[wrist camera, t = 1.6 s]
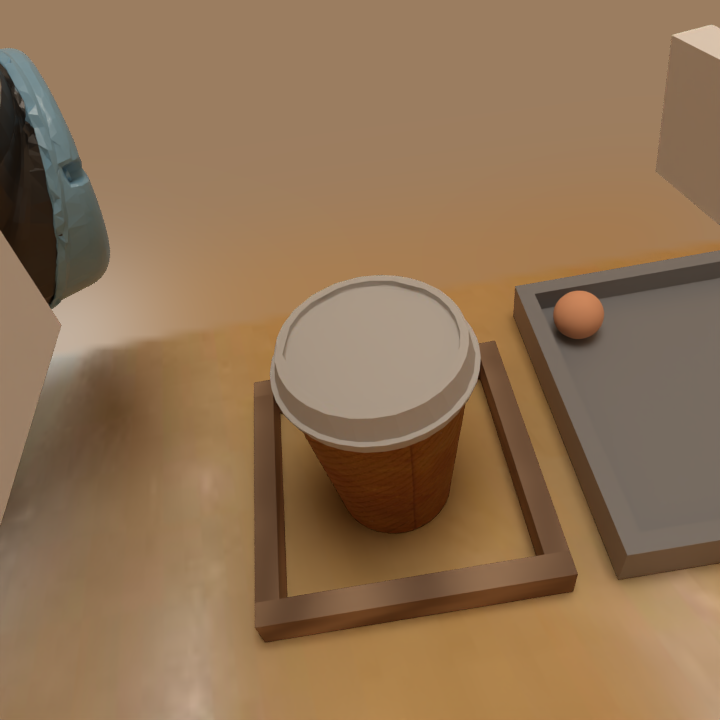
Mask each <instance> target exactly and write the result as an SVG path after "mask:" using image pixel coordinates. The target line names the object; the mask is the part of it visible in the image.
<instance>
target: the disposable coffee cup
mask: <svg viewBox="0 0 720 720" xmlns="http://www.w3.org/2000/svg"><path fill="white" fill-rule="evenodd" d="M480 361H481V356H480V348H479V344H478V340H477V338H476V336H475V333H474V331H473V329H472V327H471V326H470V325H469V324H468V322H467V321H466V320H465V318H464V316H463V314H462V312H461V310H460V309H459V308H458V306H457V305H456V304H455V303H454V302H453V301H452V299H450V298H449V297H448V296H447V295H445V294H444V293H443V292H442V291H440V290H438V289H436V288H434V287H432V286H430V285H428V284H426V283H424V282H421V281H417V280H414V279H411V278H406V277H400V276H388V275H376V276H365V277H357V278H354V279H350V280H346V281H343V282H339V283H336V284H333V285H331V286H329V287H328V288H325V289H323V290H321V291H319V292H318V293H315V294H313V295H312V296H311V297H309V298H308V299H307V300H306V301H305V302H303V303H302V304H301V305H300V306H298V307H297V308H296V309H295V310H294V311H293V312H292V313H291V315H290V316H289V317H288V319H287V320H286V321H285V323H284V324H283V326H282V328H281V330H280V332H279V335H278V337H277V341H276V346H275V353H274V356H273V358H272V363H271V370H270V380H271V388H272V392H273V394H274V397H275V400H276V402H277V404H278V406H279V407H280V409H281V411H282V412H283V414H284V416H285V417H286V418H287V419H288V420H290V421H291V422H292V423H293V424H294V425H295V426H296V427H297V428H298V429H299V430H300V431H302V432H303V433H304V434H305V437H306V439H307V440H308V441H309V444H310V446H311V447H312V449H313V451H314V452H315V454H316V456H317V458H318V459H319V461H320V463H321V464H322V466H323V468H324V470H325V471H326V473H327V475H328V477H329V478H330V480H331V482H332V483H333V485H334V487H335V488H336V491H337V492H338V494H339V496H340V497H341V499H342V501H343V503H344V504H345V507H346V508H347V510H348V511H349V513H350V514H351V515H352V516H353V517H354V518H355V519H356V520H357V521H358V522H359V523H361V524H363V525H364V526H366V527H368V528H370V529H373V530H376V531H380V532H387V533H402V532H407V531H412V530H414V529H416V528H418V527H421V526H423V525H425V524H426V523H428V522H429V521H431V520H432V519H433V518H434V517H435V516H436V515H437V514H438V513H439V512H440V511H441V509H442V508H443V506H444V505H445V503H446V501H447V498H448V496H449V491H450V485H451V478H452V474H453V468H454V463H455V458H456V452H457V446H458V440H459V436H460V430H461V426H462V420H463V415H464V408H465V403H466V402H467V401H468V399H469V397H470V395H471V393H472V391H473V389H474V387H475V385H476V383H477V380H478V376H479V371H480Z"/></svg>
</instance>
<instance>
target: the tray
mask: <svg viewBox="0 0 720 720" xmlns="http://www.w3.org/2000/svg"><path fill="white" fill-rule="evenodd" d="M572 291H586V292H589V293H591V294H593V295H594V296H596V297H597V298H598V299H599V300H600V302H601V304H602V306H603V309H604V320H603V323H602V325H601V327H600V328H599V330H598V331H597V332H596V333H594V334H593V335H591V336H589V337H587V338H583V339H573V338H569V337H567V336H565V335H563V334H562V333H561V332H560V331H559V330H558V329H557V327H556V325H555V323H554V318H553V312H554V308H555V305H556V303H557V302H558V300H559V299H560V298H561V297H563V296H564V295H565V294H567V293H569V292H572ZM513 316H514V318H515V321H516V323H517V326H518V328H519V331H520V334H521V336H522V339H523V341H524V344H525V346H526V349H527V351H528V354H529V356H530V359H531V361H532V364H533V366H534V369H535V371H536V374H537V376H538V379H539V381H540V384H541V386H542V389H543V392H544V394H545V397H546V399H547V402H548V404H549V407H550V409H551V412H552V414H553V417H554V419H555V422H556V424H557V427H558V429H559V432H560V434H561V437H562V439H563V442H564V444H565V447H566V450H567V452H568V455H569V457H570V460H571V462H572V465H573V467H574V470H575V472H576V475H577V477H578V480H579V482H580V485H581V487H582V490H583V492H584V495H585V497H586V500H587V502H588V505H589V508H590V510H591V513H592V515H593V518H594V520H595V523H596V525H597V528H598V530H599V533H600V535H601V538H602V540H603V543H604V545H605V548H606V550H607V553H608V555H609V558H610V560H611V563H612V566H613V568H614V571H615V573H616V576H617V578H618V580H619V579H625V578H631V577H637V576H643V575H649V574H655V573H661V572H667V571H674V570H680V569H686V568H692V567H698V566H704V565H710V564H716V563H720V251H714V252H708V253H703V254H697V255H691V256H686V257H680V258H674V259H668V260H663V261H657V262H651V263H646V264H640V265H634V266H629V267H623V268H617V269H612V270H606V271H600V272H594V273H589V274H583V275H577V276H572V277H566V278H560V279H555V280H549V281H543V282H538V283H532V284H526V285H520V286H515V298H514V314H513Z"/></svg>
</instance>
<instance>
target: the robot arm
mask: <svg viewBox="0 0 720 720" xmlns="http://www.w3.org/2000/svg"><path fill="white" fill-rule="evenodd" d="M656 172H657V173H658V174H659V175H661V176H662V177H663V178H664V179H665V180H666V181H668V182H669V183H670V184H671V185H673V186H674V187H675V188H676V189H677V190H678V191H680V192H681V193H682V194H683V195H684V196H685V197H687V198H688V199H689V200H690V201H691V202H693V203H694V204H695V205H696V206H697V207H699V208H700V209H701V210H702V211H703V212H705V213H706V214H707V215H708V216H709V217H710V218H712V219H713V220H714V221H715V222H716V223H718V224H719V225H720V28H718V27H716V26H713V25H709V26H705V27H701V28H697V29H693V30H689V31H685V32H682V33H678V34H674V35H672V37H671V45H670V54H669V62H668V71H667V79H666V88H665V96H664V105H663V113H662V122H661V130H660V138H659V147H658V156H657V164H656ZM109 258H110V247H109V240H108V235H107V231H106V227H105V223H104V220H103V217H102V213H101V210H100V207H99V205H98V201H97V198H96V196H95V193H94V190H93V188H92V185H91V183H90V180H89V178H88V177H87V175H86V173H85V172H84V170H83V169H82V164H81V160H80V157H79V155H78V152H77V149H76V146H75V142H74V140H73V138H72V135H71V133H70V131H69V129H68V127H67V124H66V122H65V120H64V118H63V116H62V114H61V112H60V109H59V108H58V105H57V104H56V101H55V100H54V97H53V96H52V94H51V92H50V90H49V88H48V86H47V84H46V83H45V81H44V79H43V78H42V76H41V74H40V73H39V71H38V70H37V68H36V66H35V65H34V64H33V62H32V61H31V60H30V59H29V57H28V56H27V55H26V54H24V53H23V52H21V51H19V50H17V49H11V48H7V49H6V48H5V49H0V525H1V522H2V519H3V515H4V512H5V509H6V505H7V502H8V499H9V496H10V492H11V489H12V486H13V482H14V479H15V476H16V473H17V469H18V466H19V463H20V459H21V456H22V453H23V450H24V446H25V443H26V440H27V436H28V433H29V430H30V427H31V423H32V420H33V417H34V413H35V410H36V407H37V404H38V400H39V397H40V394H41V390H42V387H43V384H44V381H45V377H46V374H47V371H48V367H49V364H50V361H51V358H52V354H53V351H54V348H55V344H56V341H57V338H58V334H59V331H60V328H61V324H60V322H59V321H58V319H57V318H56V316H55V314H54V313H53V311H52V310H51V309H53V308H54V307H56V306H57V305H58V304H59V303H60V302H61V300H63V299H65V298H66V297H68V296H70V295H72V294H74V293H76V292H78V291H80V290H82V289H84V288H86V287H88V286H90V285H92V284H93V283H95V282H97V281H98V280H99V279H100V278H101V277H102V275H103V274H104V273H105V271H106V269H107V267H108V264H109Z"/></svg>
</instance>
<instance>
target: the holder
mask: <svg viewBox="0 0 720 720" xmlns="http://www.w3.org/2000/svg"><path fill="white" fill-rule="evenodd" d="M479 348H480V356H481V361H480V371H479V376H478V379H481V382H482V385H483V389H484V392H485V395H486V398H487V401H488V404H489V408H490V411H491V414H492V417H493V420H494V423H495V427H496V430H497V433H498V436H499V439H500V442H501V446H502V449H503V452H504V455H505V458H506V461H507V464H508V468H509V471H510V474H511V477H512V480H513V483H514V487H515V490H516V493H517V496H518V499H519V502H520V506H521V509H522V512H523V515H524V518H525V521H526V525H527V528H528V531H529V534H530V537H531V540H532V543H533V547H534V550H535V553H536V556H533V557H527V558H521V559H515V560H509V561H503V562H497V563H491V564H485V565H479V566H473V567H467V568H461V569H455V570H449V571H443V572H437V573H431V574H425V575H419V576H413V577H407V578H401V579H395V580H389V581H383V582H377V583H371V584H365V585H359V586H353V587H347V588H341V589H335V590H329V591H323V592H317V593H311V594H305V595H299V596H293V597H287V577H286V551H285V525H284V499H283V473H282V447H281V421H280V413H283V412H282V411H281V409H280V407H279V406H278V404H277V402H276V400H275V397H274V394H273V392H272V388H271V380H266V381H261V382H255V383H254V507H255V628H256V630H257V631H258V633H259V634H260V636H261V637H262V639H263V640H264V641H265V642H270V641H276V640H282V639H288V638H294V637H300V636H306V635H312V634H318V633H324V632H330V631H336V630H342V629H348V628H354V627H360V626H366V625H372V624H378V623H384V622H390V621H397V620H403V619H409V618H415V617H421V616H427V615H433V614H439V613H445V612H451V611H457V610H463V609H469V608H475V607H481V606H487V605H493V604H499V603H505V602H511V601H517V600H523V599H529V598H536V597H542V596H548V595H554V594H560V593H566V592H572V591H573V590H574V586H575V583H576V579H577V575H578V573H577V570H576V568H575V565H574V562H573V559H572V556H571V554H570V551H569V548H568V545H567V542H566V539H565V537H564V534H563V531H562V528H561V525H560V523H559V520H558V517H557V514H556V511H555V509H554V506H553V503H552V500H551V497H550V494H549V492H548V489H547V486H546V483H545V480H544V478H543V475H542V472H541V469H540V466H539V463H538V461H537V458H536V455H535V452H534V449H533V447H532V444H531V441H530V438H529V435H528V432H527V430H526V427H525V424H524V421H523V418H522V416H521V413H520V410H519V407H518V404H517V402H516V399H515V396H514V393H513V390H512V387H511V385H510V382H509V379H508V376H507V373H506V371H505V368H504V365H503V362H502V359H501V356H500V354H499V351H498V348H497V345H496V342H495V341H490V342H485V343H479Z"/></svg>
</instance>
